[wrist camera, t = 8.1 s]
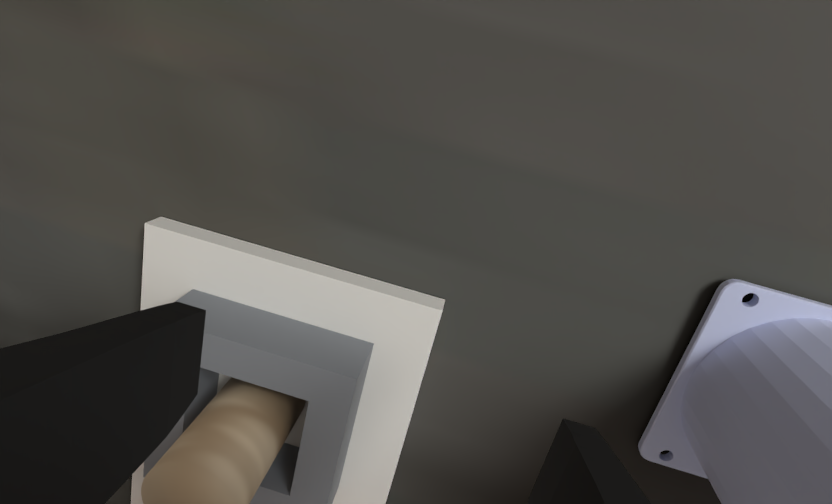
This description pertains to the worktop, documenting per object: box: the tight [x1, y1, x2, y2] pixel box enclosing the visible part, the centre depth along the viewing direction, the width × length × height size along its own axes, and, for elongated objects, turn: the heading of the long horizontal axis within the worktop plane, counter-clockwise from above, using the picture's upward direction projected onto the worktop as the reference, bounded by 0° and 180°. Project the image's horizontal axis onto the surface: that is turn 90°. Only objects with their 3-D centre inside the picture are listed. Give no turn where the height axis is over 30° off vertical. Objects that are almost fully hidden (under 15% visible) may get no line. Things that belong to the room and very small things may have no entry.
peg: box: [141, 377, 306, 504], centre depth 18 cm, size 3×3×6 cm
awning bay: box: [131, 217, 445, 504], centre depth 20 cm, size 12×16×7 cm
